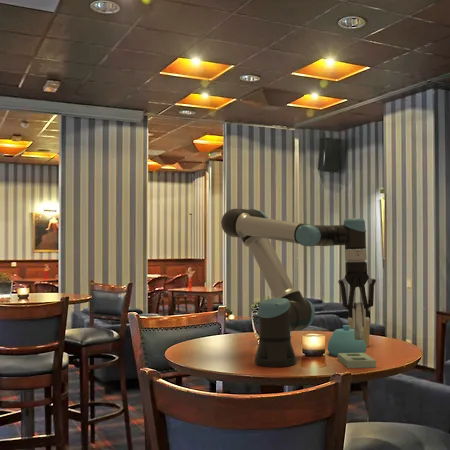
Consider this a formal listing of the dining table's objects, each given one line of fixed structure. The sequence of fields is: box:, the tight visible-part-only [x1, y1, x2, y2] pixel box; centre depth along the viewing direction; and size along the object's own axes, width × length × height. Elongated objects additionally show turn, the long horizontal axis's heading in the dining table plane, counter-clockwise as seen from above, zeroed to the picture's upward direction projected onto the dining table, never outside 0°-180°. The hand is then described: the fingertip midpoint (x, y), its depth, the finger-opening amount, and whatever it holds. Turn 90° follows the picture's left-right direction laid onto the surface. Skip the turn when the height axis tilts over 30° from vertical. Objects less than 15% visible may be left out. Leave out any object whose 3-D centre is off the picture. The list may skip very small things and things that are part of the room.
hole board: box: [337, 352, 377, 369], centre depth 217 cm, size 10×16×2 cm, turn 2°
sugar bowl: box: [327, 324, 367, 358], centre depth 236 cm, size 15×15×12 cm
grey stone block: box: [352, 301, 364, 340], centre depth 214 cm, size 3×3×13 cm
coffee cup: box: [347, 316, 371, 348], centre depth 255 cm, size 9×9×12 cm
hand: (358, 326), depth 214 cm, fingers closed on grey stone block, 3 cm apart
